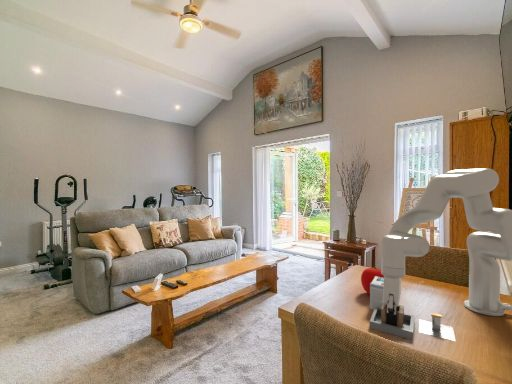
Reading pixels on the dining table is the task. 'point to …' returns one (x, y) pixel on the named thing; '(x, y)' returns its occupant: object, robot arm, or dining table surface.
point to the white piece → (436, 328)
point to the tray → (401, 332)
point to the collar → (398, 311)
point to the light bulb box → (376, 292)
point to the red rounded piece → (369, 277)
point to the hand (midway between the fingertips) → (392, 319)
